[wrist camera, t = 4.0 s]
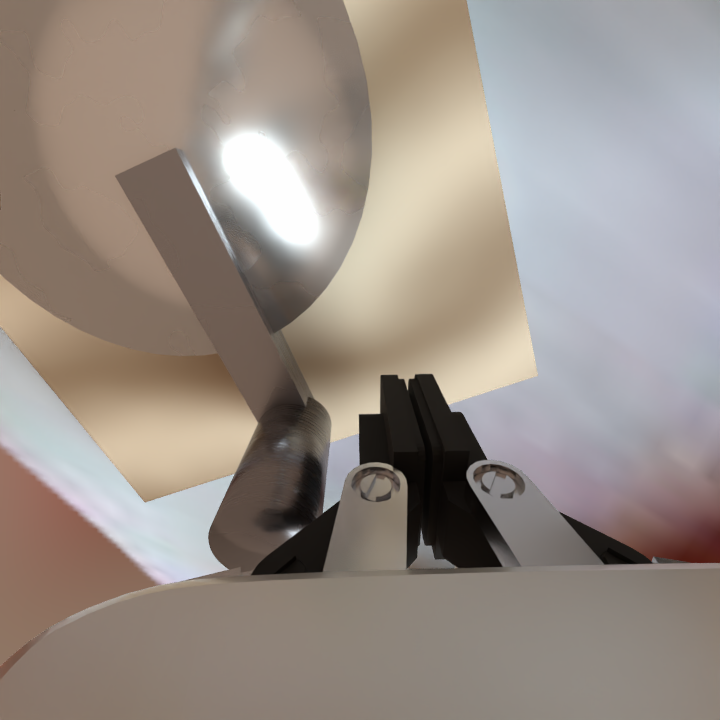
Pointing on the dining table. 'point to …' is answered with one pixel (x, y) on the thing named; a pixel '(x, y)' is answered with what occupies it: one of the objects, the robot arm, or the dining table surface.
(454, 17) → the stand board
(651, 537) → the dining table surface
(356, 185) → the silver rounded piece
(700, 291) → the dining table surface
